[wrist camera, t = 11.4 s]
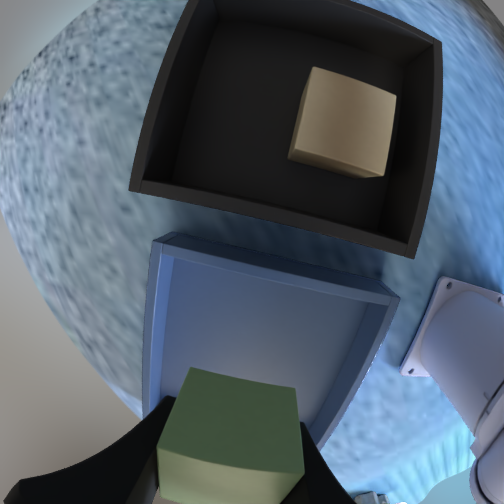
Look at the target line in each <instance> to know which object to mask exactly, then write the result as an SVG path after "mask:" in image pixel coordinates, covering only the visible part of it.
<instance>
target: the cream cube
mask: <svg viewBox="0 0 504 504" xmlns="http://www.w3.org/2000/svg"><path fill="white" fill-rule="evenodd" d="M395 105H396V95H394V94H392V93H389V92H387V91H384V90H382V89H380V88H377V87H375V86H372V85H369V84H367V83H364V82H361V81H359V80H356V79H353V78H350V77H347V76H344V75H341V74H338V73H335V72H331V71H328V70H325V69H321V68H318V67H313V68H312V70H311V72H310V75H309V78H308V80H307V83H306V86H305V88H304V91H303V94H302V97H301V101H300V106H299V110H298V115H297V119H296V123H295V128H294V132H293V136H292V141H291V145H290V149H289V154H288V160H291V161H295V162H299V163H302V164H306V165H310V166H313V167H317V168H321V169H324V170H328V171H331V172H334V173H338V174H341V175H344V176H347V177H351V178H354V179H358V178H367V177H376V176H383V175H384V172H385V168H386V162H387V157H388V152H389V146H390V140H391V134H392V127H393V120H394V113H395Z"/></svg>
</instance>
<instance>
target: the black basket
mask: <svg viewBox="0 0 504 504" xmlns="http://www.w3.org/2000/svg"><path fill="white" fill-rule="evenodd" d="M313 67H318V68H321V69H325V70H328V71H331V72H335V73H338V74H341V75H344V76H347V77H350V78H353V79H356V80H359V81H361V82H364V83H367V84H369V85H372V86H375V87H377V88H380V89H382V90H384V91H387V92H389V93H392V94H394V95H396V105H395V113H394V120H393V127H392V134H391V140H390V146H389V152H388V157H387V162H386V168H385V172H384V175H383V176H376V177H367V178H358V179H354V178H351V177H347V176H344V175H341V174H338V173H334V172H331V171H328V170H324V169H321V168H317V167H313V166H310V165H306V164H302V163H299V162H295V161H291V160H288V154H289V149H290V145H291V141H292V136H293V132H294V128H295V123H296V119H297V115H298V110H299V106H300V101H301V97H302V94H303V91H304V88H305V86H306V83H307V80H308V78H309V75H310V72H311V70H312V68H313ZM442 98H443V58H442V42H441V41H439V40H437V39H436V38H434V37H432V36H430V35H428V34H427V33H425V32H423V31H421V30H419V29H417V28H415V27H413V26H411V25H409V24H407V23H405V22H403V21H401V20H399V19H397V18H394V17H392V16H390V15H387V14H385V13H383V12H380V11H378V10H375V9H373V8H370V7H367V6H365V5H362V4H359V3H356V2H353V1H350V0H189V1H188V3H187V5H186V7H185V9H184V11H183V13H182V15H181V17H180V20H179V22H178V24H177V26H176V29H175V31H174V33H173V36H172V38H171V41H170V43H169V46H168V48H167V51H166V53H165V56H164V59H163V61H162V64H161V67H160V70H159V73H158V75H157V78H156V81H155V84H154V88H153V91H152V94H151V97H150V100H149V104H148V107H147V111H146V114H145V118H144V121H143V125H142V129H141V133H140V137H139V141H138V145H137V150H136V154H135V159H134V163H133V168H132V173H131V178H130V184H129V189H128V190H129V191H132V192H137V193H142V194H147V195H152V196H158V197H163V198H167V199H172V200H177V201H182V202H187V203H192V204H196V205H201V206H206V207H210V208H215V209H219V210H224V211H228V212H233V213H237V214H242V215H246V216H250V217H254V218H259V219H263V220H267V221H271V222H275V223H280V224H284V225H288V226H292V227H296V228H300V229H304V230H308V231H312V232H316V233H320V234H323V235H327V236H331V237H335V238H339V239H342V240H346V241H350V242H354V243H357V244H361V245H365V246H368V247H372V248H375V249H379V250H383V251H386V252H390V253H393V254H397V255H400V256H404V257H407V258H410V259H414V258H415V255H416V251H417V248H418V244H419V241H420V237H421V234H422V230H423V226H424V222H425V218H426V214H427V209H428V205H429V200H430V195H431V190H432V185H433V180H434V174H435V168H436V162H437V155H438V147H439V138H440V129H441V116H442Z"/></svg>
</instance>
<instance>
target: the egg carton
mask: <svg viewBox="0 0 504 504" xmlns="http://www.w3.org/2000/svg"><path fill="white" fill-rule="evenodd" d="M354 501H355V502H356V503H357V504H390V503H389V500H388V497H387V495H385V494H383V495H381V496H377V494H376V492H374V491H373V492H370V493H367V494H361V495H358V496H356V497H355V500H354Z"/></svg>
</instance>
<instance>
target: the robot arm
mask: <svg viewBox="0 0 504 504" xmlns="http://www.w3.org/2000/svg"><path fill="white" fill-rule="evenodd" d="M448 283H449V286H448V287H447V284H448ZM410 369H411V370H410ZM409 370H410V371H409ZM399 373H400V374H401V375H402V376H419V377H432V378H433V380H434V381H435V382H436V384H437V385H438V386H439V388H440V389H441V390H442V392H443V393H444V394H445V396H446V397H447V398H448V400H449V401H450V402H451V404H452V405H453V407H454V408H455V409H456V411H457V412H458V414H459V415H460V416H461V418H462V419H463V421H464V422H465V424H466V425H467V427H468V428H469V429H470V431H471V432H472V434H473V435H474V437H475V441H474V442H473V444H472V446H471V447H470V449H471V450H472V452H473V454H474V455H475V457H476V459H475V461H474V463H473V465H472V467H471V471H470V479H469V481H470V488H471V493H472V495H473V497H474V499H475V501H476V502H477V504H504V294H501V293H498V292H495V291H492V290H489V289H485V288H482V287H479V286H476V285H472V284H469V283H466V282H463V281H459V280H456V279H452V278H449V277H446V276H442V277H440V278H439V280H438V282H437V284H436V287H435V290H434V293H433V295H432V298H431V301H430V303H429V306H428V308H427V311H426V313H425V316H424V318H423V320H422V323H421V325H420V327H419V330H418V332H417V334H416V336H415V338H414V340H413V343H412V345H411V347H410V349H409V351H408V353H407V355H406V357H405V359H404V361H403V363H402V365H401V366H400V368H399ZM175 401H176V397H173V396H169V395H167V396H165V397H164V398H163V399H162V400H161V402H160V403H159V404H158V405H157V406H156V407H155V408H154V409H153V410H152V411H151V412H150V413H149V414H148V415H147V416H146V417H145V418H144V419H143V420H142V421H141V422H140V423H139V424H137V425H136V426H135V427H134V428H133V429H132V430H131V431H129V432H128V433H127V434H125V435H124V436H123V437H122V438H120V439H119V440H117V441H116V442H115V443H113V444H112V445H110V446H109V447H107V448H106V449H104V450H102V451H101V452H99V453H97V454H95V455H94V456H92V457H90V458H88V459H86V460H84V461H82V462H79V463H77V464H75V465H73V466H70V467H67V468H64V469H61V470H58V471H55V472H53V473H49V474H45V475H41V476H36V477H31V478H26V479H21V480H19V482H18V483H17V484H16V485H14V487H13V488H12V489H11V491H10V492H9V493H8V495H7V497H6V498H5V499H4V504H152V502H153V499H154V496H155V494H156V491H157V489H158V487H159V481H158V466H157V444H158V441H159V439H160V437H161V434H162V432H163V429H164V427H165V425H166V422H167V420H168V417H169V415H170V413H171V410H172V408H173V406H174V403H175ZM300 430H301V440H302V449H303V459H304V469H305V473H304V475H303V476H302V477H301V479H300V480H299V481H298V483H297V484H296V485H295V486H294V488H293V489H292V490H291V491H290V492H289V494H288V495H287V496H286V497H285V498H284V499H283V501H282V502H281V503H280V504H357V503H356V502H355V501H354V500H353V499H352V498H351V497H350V496H349V494H348V493H347V492H346V491H345V490H344V488H343V487H342V486H341V484H340V483H339V482H338V480H337V479H336V478H335V476H334V475H333V473H332V472H331V470H330V469H329V467H328V466H327V464H326V462H325V461H324V459H323V457H322V456H321V454H320V452H319V450H318V448H317V447H316V445H315V443H314V441H313V439H312V437H311V435H310V433H309V431H308V429H307V427H306V425H305V423H304V422H300Z"/></svg>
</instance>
